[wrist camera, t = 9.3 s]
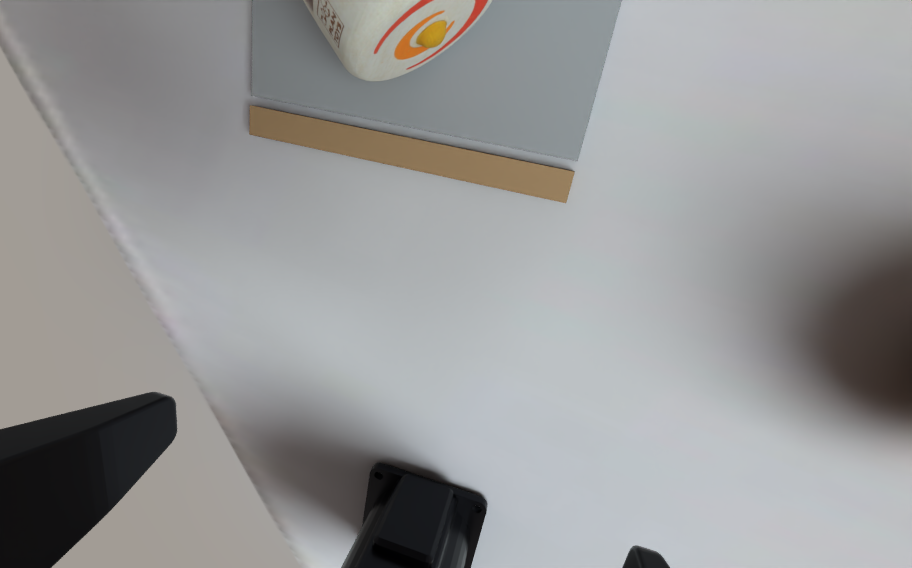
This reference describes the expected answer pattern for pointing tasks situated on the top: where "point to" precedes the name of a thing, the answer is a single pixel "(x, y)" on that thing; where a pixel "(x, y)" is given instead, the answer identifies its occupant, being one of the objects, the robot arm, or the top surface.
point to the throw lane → (445, 91)
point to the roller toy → (392, 32)
